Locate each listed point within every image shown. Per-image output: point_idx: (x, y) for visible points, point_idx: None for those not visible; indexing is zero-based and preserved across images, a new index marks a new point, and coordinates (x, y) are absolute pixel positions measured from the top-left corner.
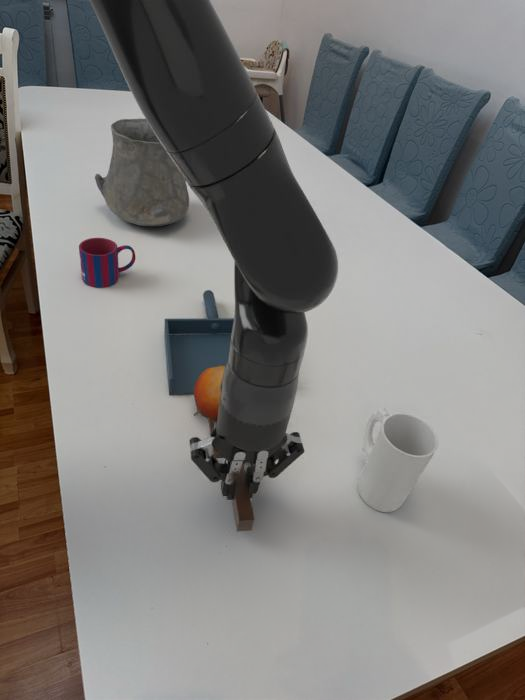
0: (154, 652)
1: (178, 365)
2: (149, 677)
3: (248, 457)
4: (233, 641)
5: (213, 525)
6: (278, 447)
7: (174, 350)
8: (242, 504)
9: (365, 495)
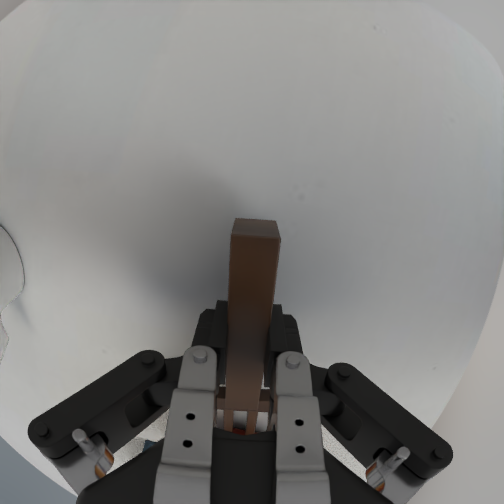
0: (449, 57)
1: None
2: (452, 34)
3: (242, 465)
4: (327, 12)
5: (317, 252)
6: (110, 487)
7: None
8: (257, 287)
9: (7, 257)
